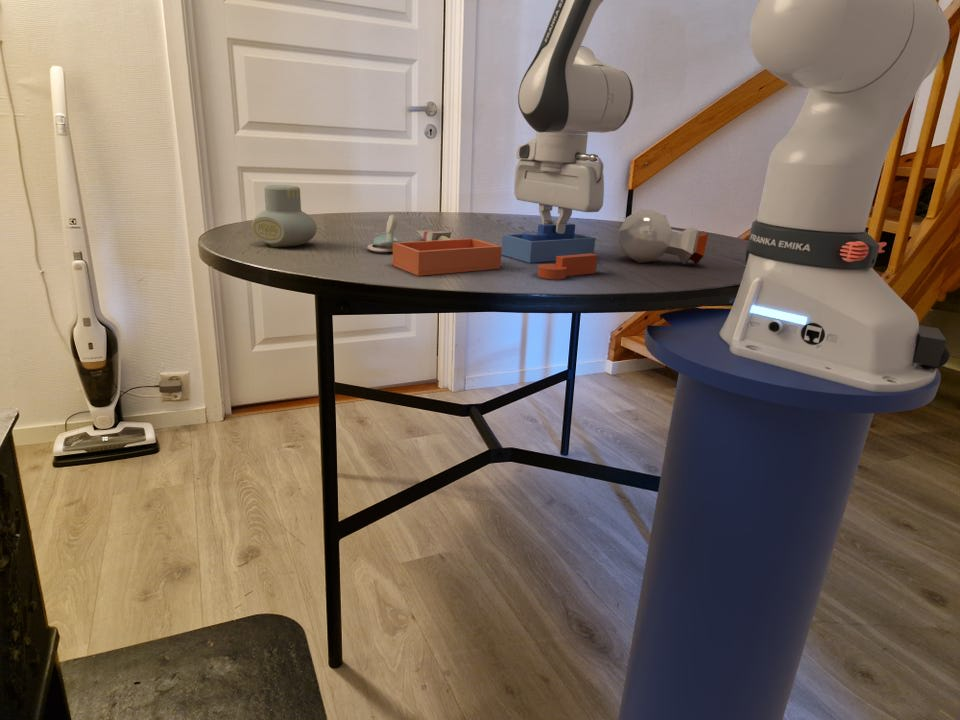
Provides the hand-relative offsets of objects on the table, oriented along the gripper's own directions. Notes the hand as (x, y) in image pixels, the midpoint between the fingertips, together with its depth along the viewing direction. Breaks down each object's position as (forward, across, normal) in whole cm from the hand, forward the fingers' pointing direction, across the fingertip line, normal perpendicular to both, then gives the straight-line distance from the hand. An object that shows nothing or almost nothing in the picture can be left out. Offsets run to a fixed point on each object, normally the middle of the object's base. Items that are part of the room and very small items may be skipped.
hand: (552, 231), depth 112 cm
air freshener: (+5, +25, +41) cm, 48 cm away
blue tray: (+4, 0, +1) cm, 4 cm away
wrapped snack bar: (+5, +14, +15) cm, 21 cm away
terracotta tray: (+4, -2, +24) cm, 24 cm away
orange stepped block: (+4, -14, +9) cm, 17 cm away
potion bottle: (+4, -12, -15) cm, 20 cm away
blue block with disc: (+2, 0, +1) cm, 2 cm away
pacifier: (+5, +14, +27) cm, 31 cm away
